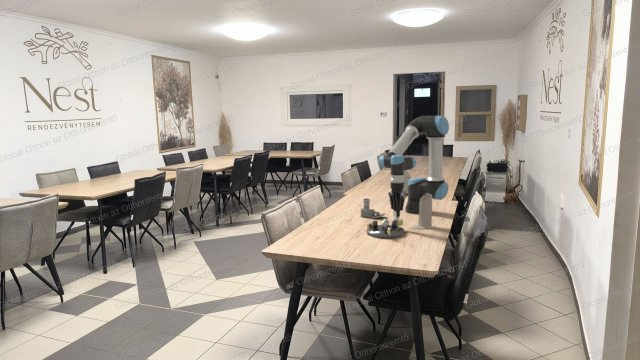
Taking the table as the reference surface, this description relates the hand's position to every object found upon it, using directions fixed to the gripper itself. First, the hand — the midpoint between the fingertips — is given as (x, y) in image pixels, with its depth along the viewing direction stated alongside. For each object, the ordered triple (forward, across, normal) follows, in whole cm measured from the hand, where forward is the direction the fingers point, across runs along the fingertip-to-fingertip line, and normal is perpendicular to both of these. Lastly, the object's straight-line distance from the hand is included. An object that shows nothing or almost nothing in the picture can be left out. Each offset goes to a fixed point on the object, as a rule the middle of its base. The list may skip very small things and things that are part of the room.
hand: (396, 221), depth 245 cm
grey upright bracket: (+5, +5, +14) cm, 16 cm away
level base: (+5, +2, -10) cm, 12 cm away
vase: (+5, -78, +71) cm, 105 cm away
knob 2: (+2, +10, -15) cm, 18 cm away
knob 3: (+2, +2, -2) cm, 4 cm away
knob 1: (+2, -3, -16) cm, 16 cm away
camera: (+5, -30, +5) cm, 31 cm away
